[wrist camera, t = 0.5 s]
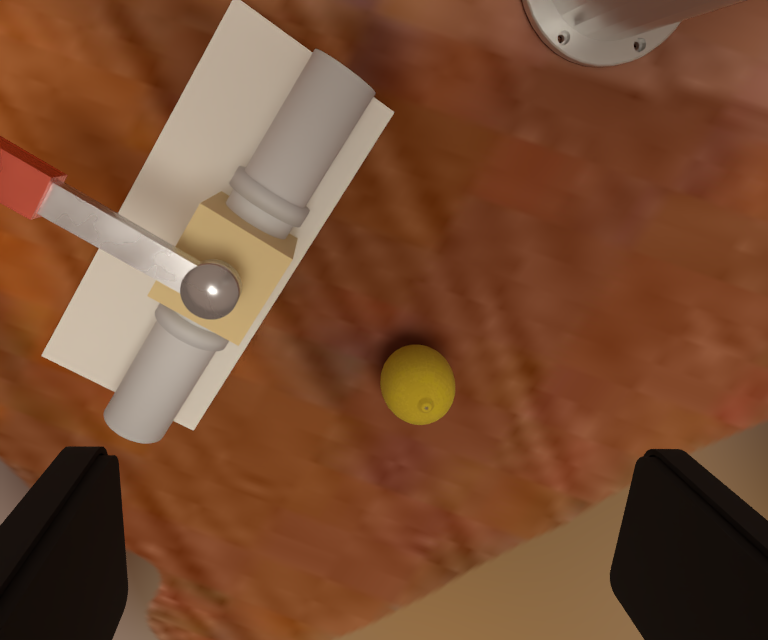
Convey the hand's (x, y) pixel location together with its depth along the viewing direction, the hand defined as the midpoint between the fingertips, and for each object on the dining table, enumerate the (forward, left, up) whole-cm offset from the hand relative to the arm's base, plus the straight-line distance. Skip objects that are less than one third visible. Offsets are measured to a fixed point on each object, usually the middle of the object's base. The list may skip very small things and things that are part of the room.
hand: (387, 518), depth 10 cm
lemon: (+6, +11, -34) cm, 36 cm away
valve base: (+5, -7, -33) cm, 35 cm away
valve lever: (+5, -11, -23) cm, 26 cm away
